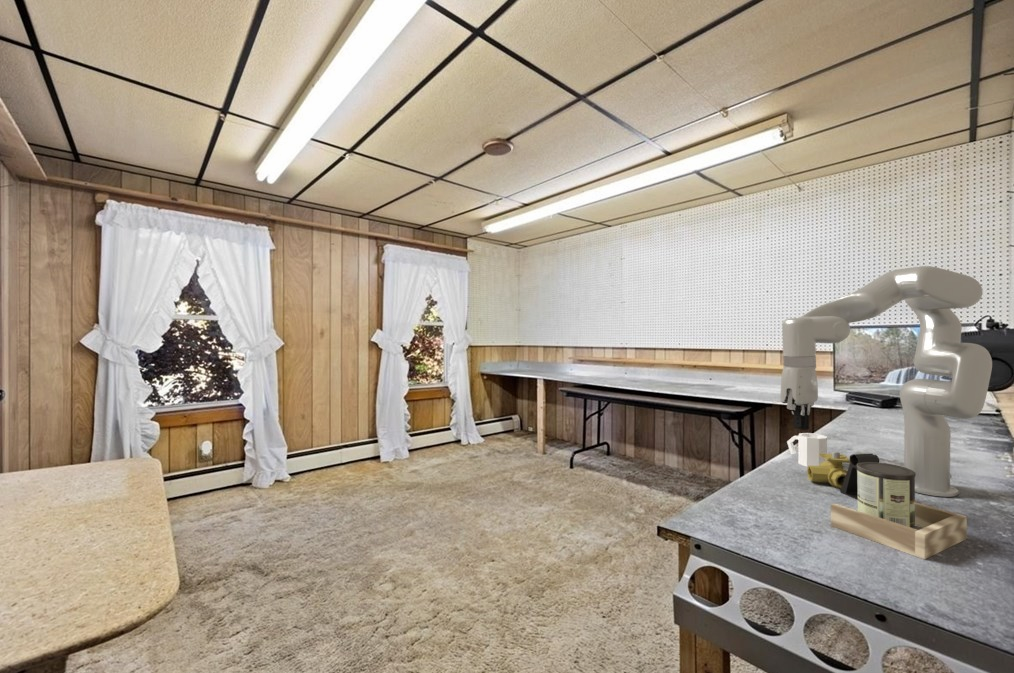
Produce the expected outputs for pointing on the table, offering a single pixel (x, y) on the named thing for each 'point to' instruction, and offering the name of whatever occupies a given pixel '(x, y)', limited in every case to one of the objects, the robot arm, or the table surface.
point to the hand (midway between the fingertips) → (801, 428)
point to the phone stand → (855, 474)
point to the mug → (809, 448)
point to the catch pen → (905, 529)
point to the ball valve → (829, 469)
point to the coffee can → (887, 492)
